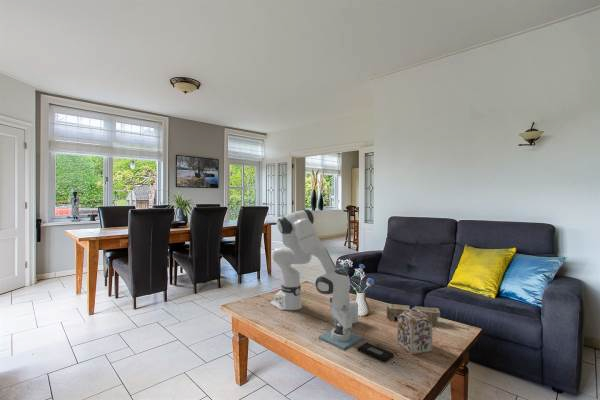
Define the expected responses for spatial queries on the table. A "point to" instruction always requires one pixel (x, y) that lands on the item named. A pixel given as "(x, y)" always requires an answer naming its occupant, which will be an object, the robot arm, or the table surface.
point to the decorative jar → (414, 331)
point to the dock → (341, 343)
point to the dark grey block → (339, 329)
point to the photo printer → (354, 311)
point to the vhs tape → (375, 352)
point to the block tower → (396, 310)
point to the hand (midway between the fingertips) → (340, 329)
